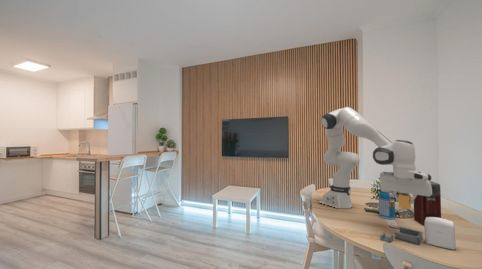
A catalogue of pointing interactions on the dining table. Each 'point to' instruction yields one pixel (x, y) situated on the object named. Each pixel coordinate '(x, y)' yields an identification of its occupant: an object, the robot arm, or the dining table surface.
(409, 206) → the block
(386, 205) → the beverage bottle
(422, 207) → the dark red decanter
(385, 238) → the clip
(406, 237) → the end holder
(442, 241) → the photo printer
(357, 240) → the dining table surface
